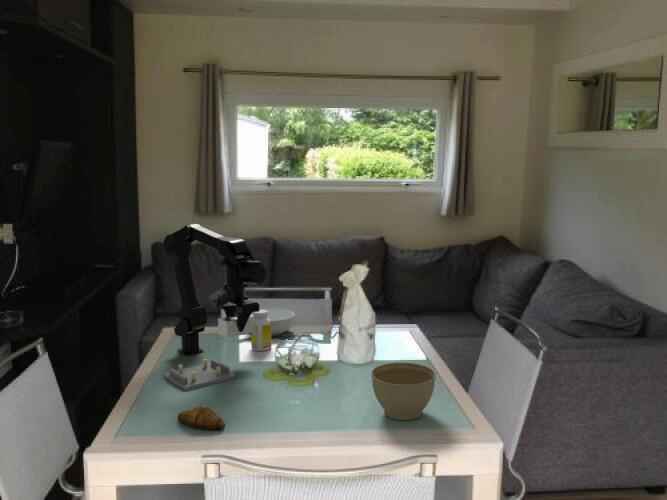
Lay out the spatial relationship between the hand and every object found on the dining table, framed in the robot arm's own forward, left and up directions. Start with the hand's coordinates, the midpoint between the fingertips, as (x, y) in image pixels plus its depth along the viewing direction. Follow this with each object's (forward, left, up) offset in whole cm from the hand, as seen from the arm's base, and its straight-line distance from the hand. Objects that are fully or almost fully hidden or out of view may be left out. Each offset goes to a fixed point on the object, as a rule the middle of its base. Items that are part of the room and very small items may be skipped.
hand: (236, 329), depth 203 cm
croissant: (+34, -30, -11) cm, 47 cm away
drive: (0, 0, -1) cm, 1 cm away
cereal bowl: (-22, +27, -11) cm, 36 cm away
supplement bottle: (-8, +14, -11) cm, 20 cm away
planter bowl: (+60, +13, -11) cm, 62 cm away
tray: (+4, -15, -11) cm, 19 cm away
